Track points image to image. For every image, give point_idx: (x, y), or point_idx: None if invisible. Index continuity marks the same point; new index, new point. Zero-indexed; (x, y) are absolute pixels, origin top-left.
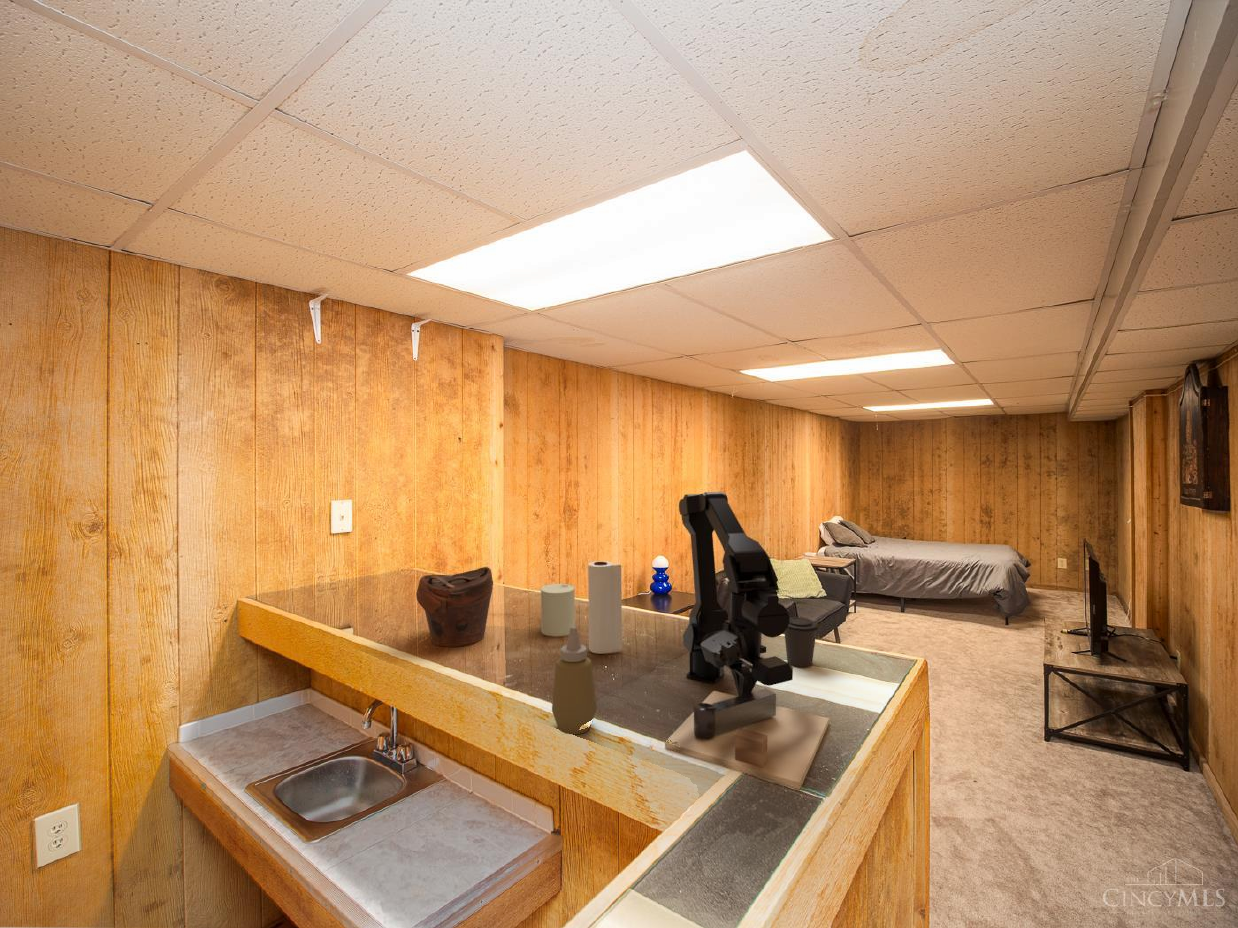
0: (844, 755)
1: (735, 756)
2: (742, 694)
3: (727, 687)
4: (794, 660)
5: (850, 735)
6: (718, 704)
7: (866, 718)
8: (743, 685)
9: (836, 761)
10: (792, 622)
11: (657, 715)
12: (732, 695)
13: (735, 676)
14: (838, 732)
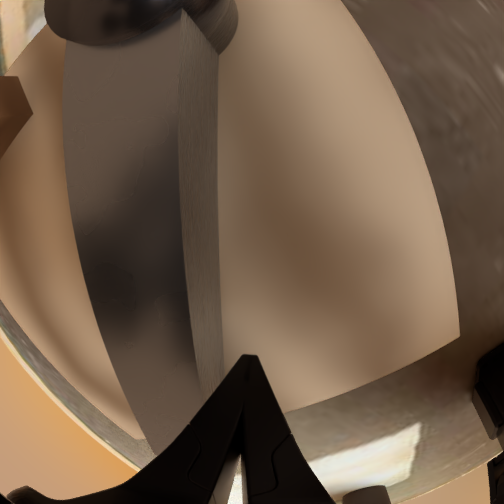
0: (28, 355)
1: (8, 76)
2: (218, 385)
3: (440, 381)
4: (365, 498)
5: (90, 416)
6: (137, 118)
7: (141, 461)
8: (177, 437)
9: (11, 327)
10: None
11: (476, 41)
12: (393, 370)
13: (268, 481)
14: (103, 414)
